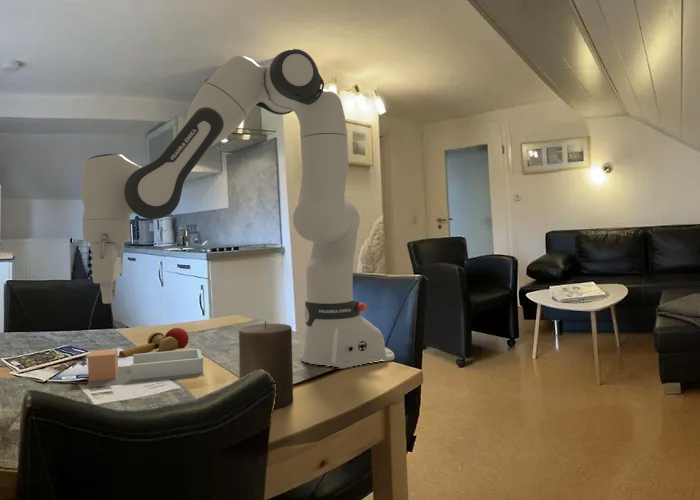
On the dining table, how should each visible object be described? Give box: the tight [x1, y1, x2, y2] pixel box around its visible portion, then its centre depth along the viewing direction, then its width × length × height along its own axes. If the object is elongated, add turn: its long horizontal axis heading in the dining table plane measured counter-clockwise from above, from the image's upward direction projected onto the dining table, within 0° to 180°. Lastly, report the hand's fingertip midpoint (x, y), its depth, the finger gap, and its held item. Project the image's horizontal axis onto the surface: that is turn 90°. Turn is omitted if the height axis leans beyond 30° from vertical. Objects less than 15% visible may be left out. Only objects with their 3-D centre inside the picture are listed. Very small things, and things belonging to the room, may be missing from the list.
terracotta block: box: [87, 348, 119, 382], centre depth 107 cm, size 5×5×5 cm
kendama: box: [118, 327, 190, 358], centre depth 130 cm, size 8×6×18 cm
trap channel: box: [85, 348, 205, 389], centre depth 110 cm, size 22×14×4 cm, turn 110°
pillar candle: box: [237, 320, 294, 410], centre depth 95 cm, size 10×10×15 cm
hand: (109, 301), depth 106 cm, fingers open, 5 cm apart
